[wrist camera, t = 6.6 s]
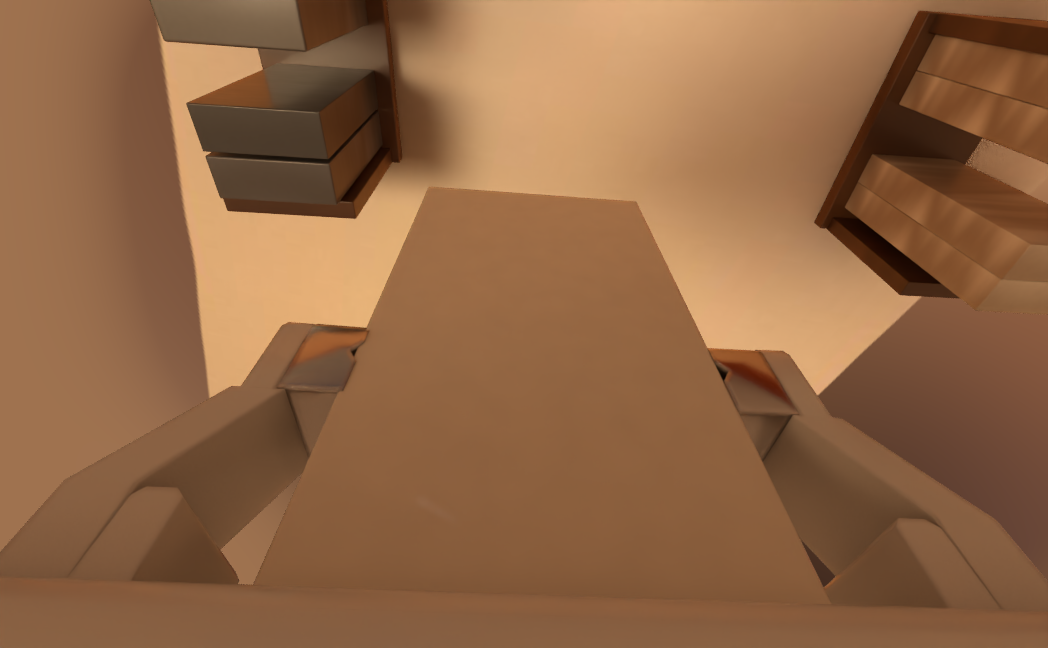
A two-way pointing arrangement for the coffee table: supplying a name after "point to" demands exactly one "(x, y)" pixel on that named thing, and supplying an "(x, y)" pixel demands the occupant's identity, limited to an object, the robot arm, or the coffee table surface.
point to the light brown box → (537, 425)
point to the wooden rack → (951, 166)
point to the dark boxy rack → (295, 102)
